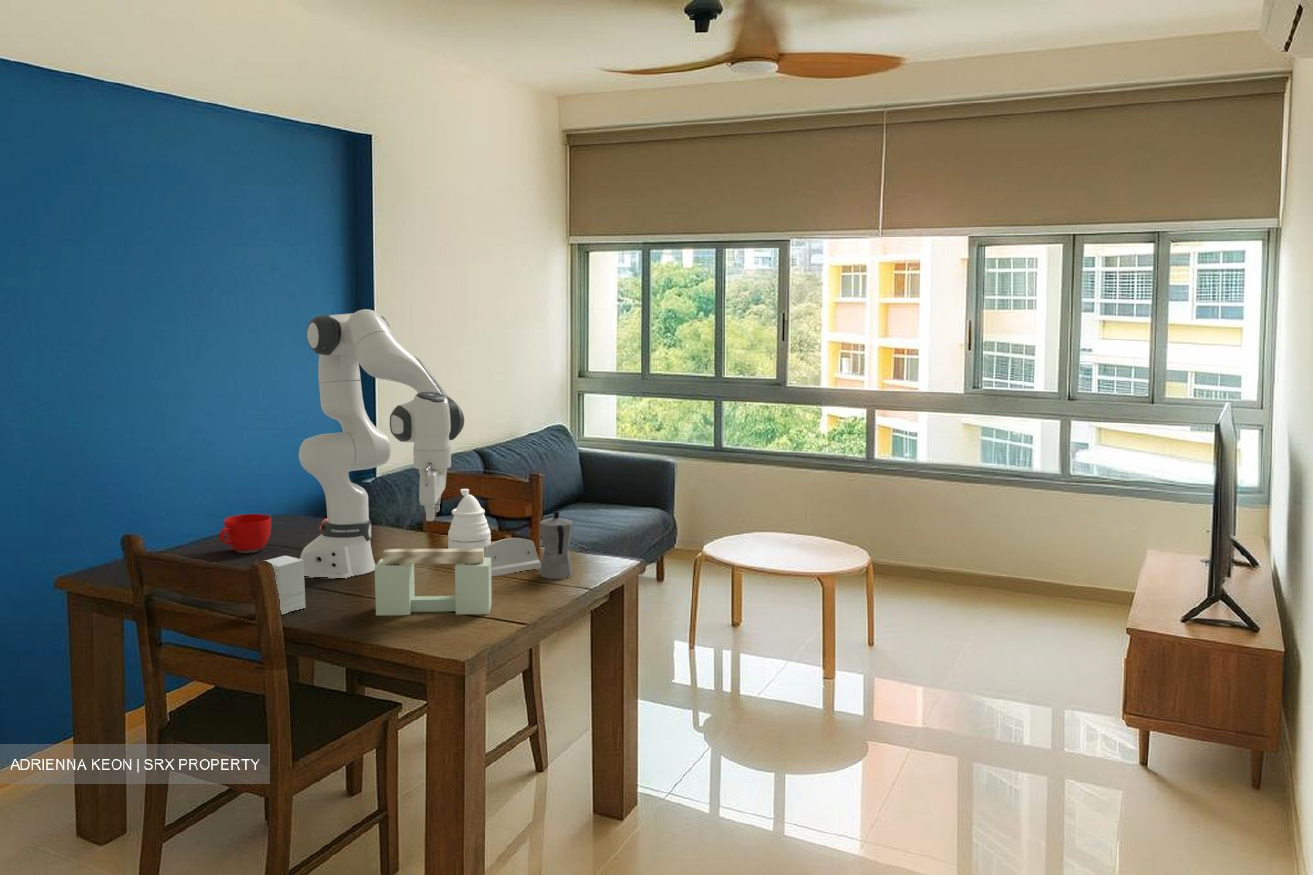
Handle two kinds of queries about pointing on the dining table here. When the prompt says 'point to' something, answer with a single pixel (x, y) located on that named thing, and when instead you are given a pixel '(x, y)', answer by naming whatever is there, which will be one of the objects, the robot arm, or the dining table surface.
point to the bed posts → (400, 596)
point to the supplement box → (289, 582)
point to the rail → (433, 556)
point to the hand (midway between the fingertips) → (433, 515)
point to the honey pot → (468, 525)
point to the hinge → (512, 556)
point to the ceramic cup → (247, 531)
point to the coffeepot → (556, 547)
